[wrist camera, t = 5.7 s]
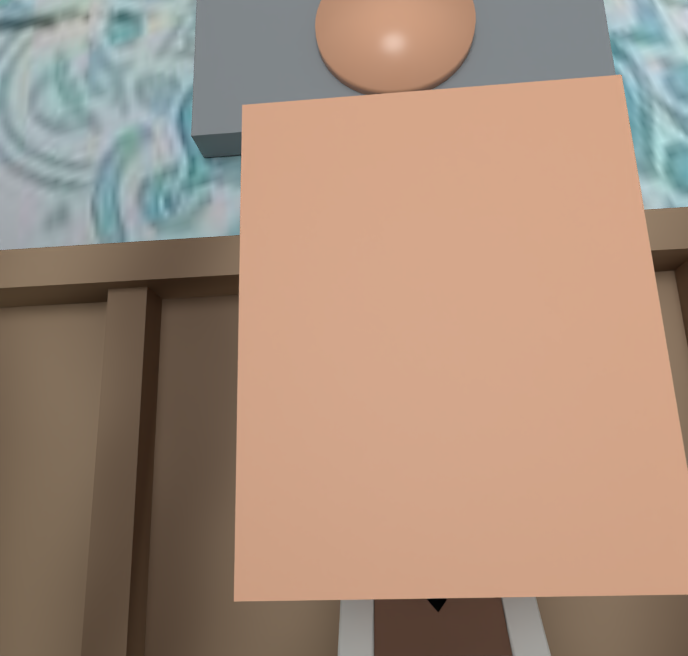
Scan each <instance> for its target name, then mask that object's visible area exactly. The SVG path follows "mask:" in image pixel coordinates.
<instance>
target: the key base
mask: <svg viewBox="0 0 688 656" xmlns="http://www.w3.org/2000/svg"><path fill="white" fill-rule="evenodd" d="M644 212H645V218H646V224H647V230H648V236H649V242H650V248H651V254H652V260H653V266H654V272H655V278H656V284H657V290H658V296H659V302H660V308H661V314H662V320H663V325H664V331H665V337H666V343H667V349H668V355H669V361H670V367H671V373H672V379H673V385H674V391H675V397H676V403H677V409H678V415H679V421H680V427H681V433H682V439H683V445H684V451H685V457H686V463H687V469H688V207H680V208H664V209H648V210H644ZM239 264H240V235H235V236H219V237H203V238H187V239H171V240H155V241H139V242H124V243H108V244H92V245H76V246H60V247H44V248H28V249H12V250H0V656H338V638H339V620H340V601H341V600H302V601H238V602H234V563H235V503H236V443H237V384H238V324H239ZM536 600H537V604H538V608H539V612H540V616H541V619H542V623H543V627H544V631H545V635H546V639H547V642H548V646H549V650H550V654H551V656H688V595H626V596H561V597H536Z"/></svg>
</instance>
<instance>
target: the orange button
mask: <svg viewBox="0 0 688 656" xmlns="http://www.w3.org/2000/svg"><path fill="white" fill-rule="evenodd" d="M611 75H615V69H614V63H613V57H612V51H611V44H610V38H609V32H608V26H607V20H606V14H605V8H604V2H603V0H197V7H196V32H195V56H194V81H193V106H192V130H191V136H192V138H193V140H194V141H195V143H196V145H197V146H198V148H199V150H200V151H201V153H202V155H203V157H217V156H231V155H241V145H242V105H247V104H260V103H272V102H285V101H297V100H310V99H322V98H335V97H347V96H360V95H372V94H385V93H398V92H410V91H423V90H435V89H448V88H460V87H473V86H485V85H498V84H510V83H523V82H536V81H548V80H561V79H573V78H586V77H598V76H611Z"/></svg>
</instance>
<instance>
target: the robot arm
mask: <svg viewBox="0 0 688 656" xmlns="http://www.w3.org/2000/svg"><path fill="white" fill-rule="evenodd" d="M338 656H551V654H550V650H549V646H548V642H547V639H546V635H545V631H544V627H543V623H542V619H541V616H540V612H539V608H538V604H537V600H536V597H496V598H432V599H367V600H341V601H340V620H339V638H338Z"/></svg>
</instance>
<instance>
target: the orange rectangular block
mask: <svg viewBox="0 0 688 656" xmlns="http://www.w3.org/2000/svg"><path fill="white" fill-rule="evenodd" d="M626 595H688V469H687V463H686V457H685V451H684V445H683V439H682V433H681V427H680V421H679V415H678V409H677V403H676V397H675V391H674V385H673V379H672V373H671V367H670V361H669V355H668V349H667V343H666V337H665V331H664V325H663V320H662V314H661V308H660V302H659V296H658V290H657V284H656V278H655V272H654V266H653V260H652V254H651V248H650V242H649V236H648V230H647V224H646V218H645V212H644V206H643V200H642V194H641V188H640V182H639V176H638V170H637V165H636V159H635V153H634V147H633V141H632V135H631V129H630V123H629V117H628V111H627V105H626V99H625V93H624V87H623V81H622V75H611V76H598V77H586V78H573V79H561V80H548V81H536V82H523V83H510V84H498V85H485V86H473V87H460V88H448V89H435V90H423V91H410V92H398V93H385V94H372V95H360V96H347V97H335V98H322V99H310V100H297V101H285V102H272V103H260V104H247V105H242V145H241V204H240V264H239V324H238V384H237V443H236V503H235V563H234V602H238V601H302V600H367V599H432V598H496V597H561V596H626Z"/></svg>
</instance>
